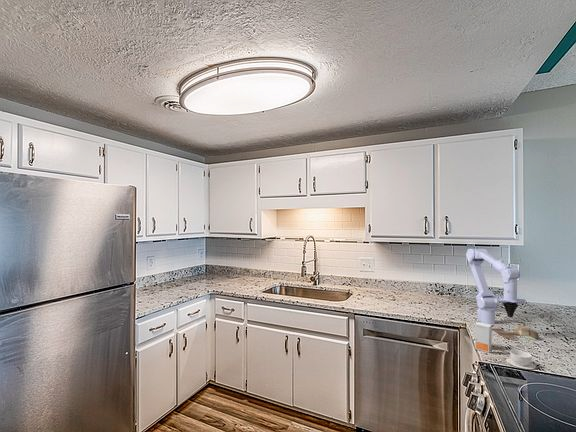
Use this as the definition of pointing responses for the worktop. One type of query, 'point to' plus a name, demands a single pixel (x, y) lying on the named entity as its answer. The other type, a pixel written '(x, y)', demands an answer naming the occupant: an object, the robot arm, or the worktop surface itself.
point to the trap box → (511, 335)
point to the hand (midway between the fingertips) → (510, 316)
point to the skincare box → (483, 337)
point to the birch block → (522, 330)
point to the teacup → (521, 359)
